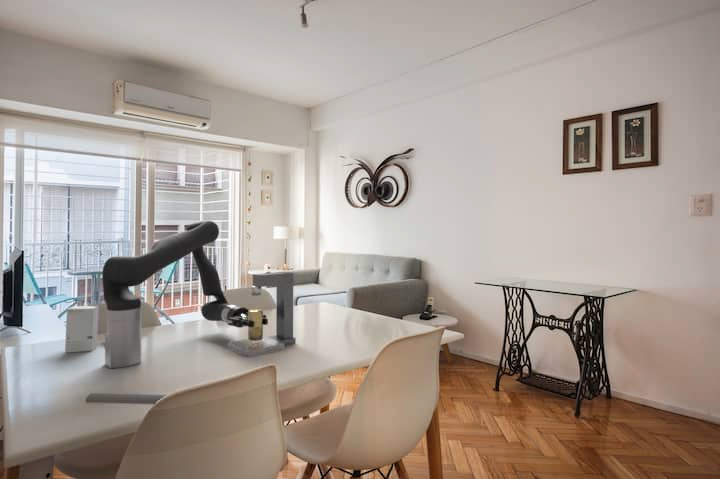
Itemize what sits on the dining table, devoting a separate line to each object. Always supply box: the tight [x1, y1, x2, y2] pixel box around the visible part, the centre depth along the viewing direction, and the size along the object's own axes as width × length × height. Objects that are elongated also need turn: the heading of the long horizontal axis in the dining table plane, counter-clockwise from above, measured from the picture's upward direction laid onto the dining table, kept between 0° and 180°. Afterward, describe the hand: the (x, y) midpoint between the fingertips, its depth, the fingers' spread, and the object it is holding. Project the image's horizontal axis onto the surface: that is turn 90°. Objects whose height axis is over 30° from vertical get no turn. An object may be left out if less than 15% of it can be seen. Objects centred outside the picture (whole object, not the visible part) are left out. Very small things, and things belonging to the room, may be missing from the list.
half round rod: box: [85, 392, 167, 405], centre depth 101 cm, size 4×20×2 cm, turn 87°
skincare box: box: [64, 305, 99, 353], centre depth 143 cm, size 8×6×15 cm
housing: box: [247, 308, 264, 341], centre depth 146 cm, size 5×5×10 cm
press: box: [227, 271, 297, 358], centre depth 150 cm, size 21×20×26 cm
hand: (259, 323), depth 144 cm, fingers closed on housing, 5 cm apart
